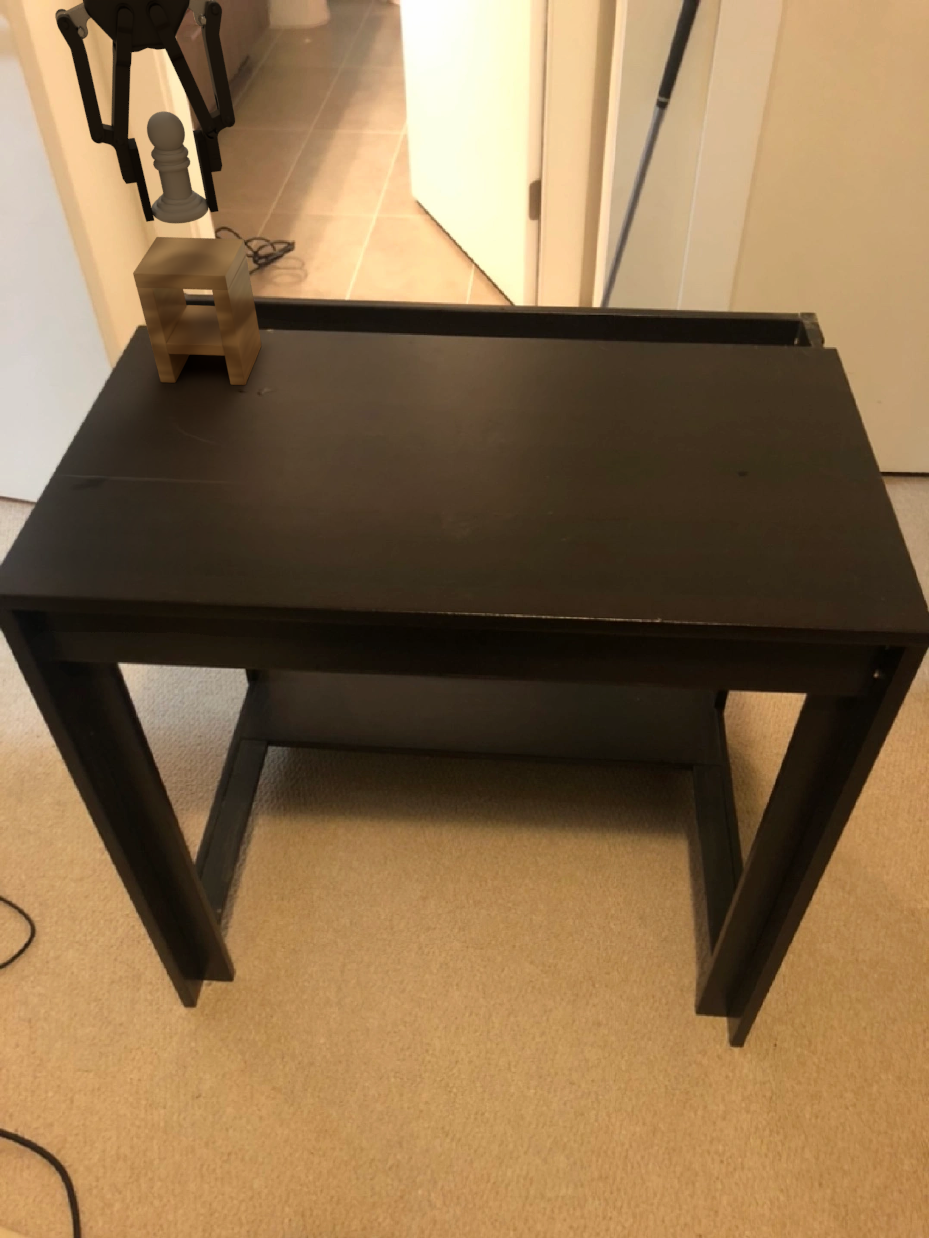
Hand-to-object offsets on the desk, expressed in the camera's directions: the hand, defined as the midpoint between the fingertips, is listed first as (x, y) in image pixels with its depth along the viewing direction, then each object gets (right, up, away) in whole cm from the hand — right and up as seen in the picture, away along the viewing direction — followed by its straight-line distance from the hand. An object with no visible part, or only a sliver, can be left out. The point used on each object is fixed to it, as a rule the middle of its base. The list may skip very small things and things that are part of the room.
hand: (180, 210), depth 94 cm
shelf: (0, -12, +12) cm, 16 cm away
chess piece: (0, 0, 0) cm, 0 cm away
